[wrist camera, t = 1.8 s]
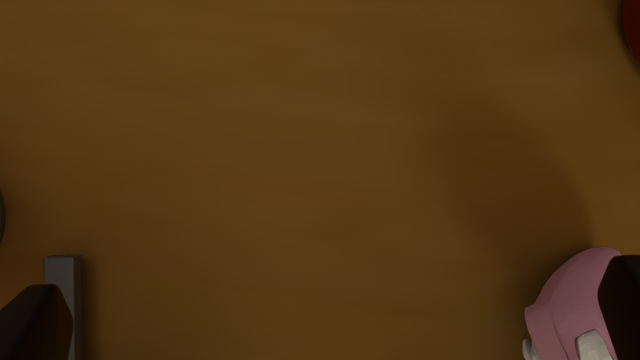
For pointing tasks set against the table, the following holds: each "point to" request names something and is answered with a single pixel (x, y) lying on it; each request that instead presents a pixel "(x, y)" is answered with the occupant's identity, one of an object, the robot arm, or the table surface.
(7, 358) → the robot arm
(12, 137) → the table surface
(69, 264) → the pan handle
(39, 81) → the table surface
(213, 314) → the table surface
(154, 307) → the table surface
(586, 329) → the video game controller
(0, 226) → the pot
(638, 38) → the soda can
